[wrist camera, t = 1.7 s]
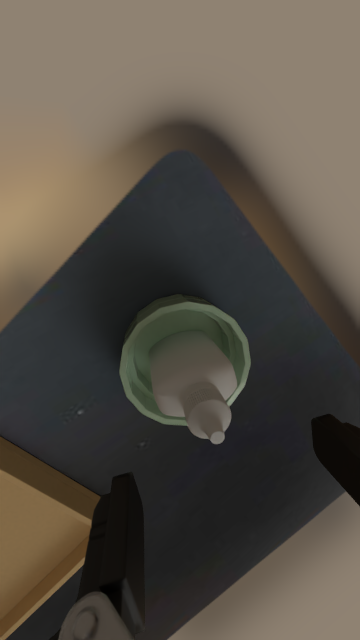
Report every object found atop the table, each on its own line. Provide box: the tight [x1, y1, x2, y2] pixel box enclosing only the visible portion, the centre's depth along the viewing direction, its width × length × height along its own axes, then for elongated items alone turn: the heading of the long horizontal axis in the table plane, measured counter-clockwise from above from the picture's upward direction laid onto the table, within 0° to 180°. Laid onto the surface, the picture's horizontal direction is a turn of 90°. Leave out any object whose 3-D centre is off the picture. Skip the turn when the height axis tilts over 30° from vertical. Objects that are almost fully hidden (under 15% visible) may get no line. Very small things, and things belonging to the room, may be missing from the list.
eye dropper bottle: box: [149, 330, 237, 444], centre depth 18 cm, size 4×6×12 cm
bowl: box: [119, 294, 251, 426], centre depth 22 cm, size 10×10×4 cm
